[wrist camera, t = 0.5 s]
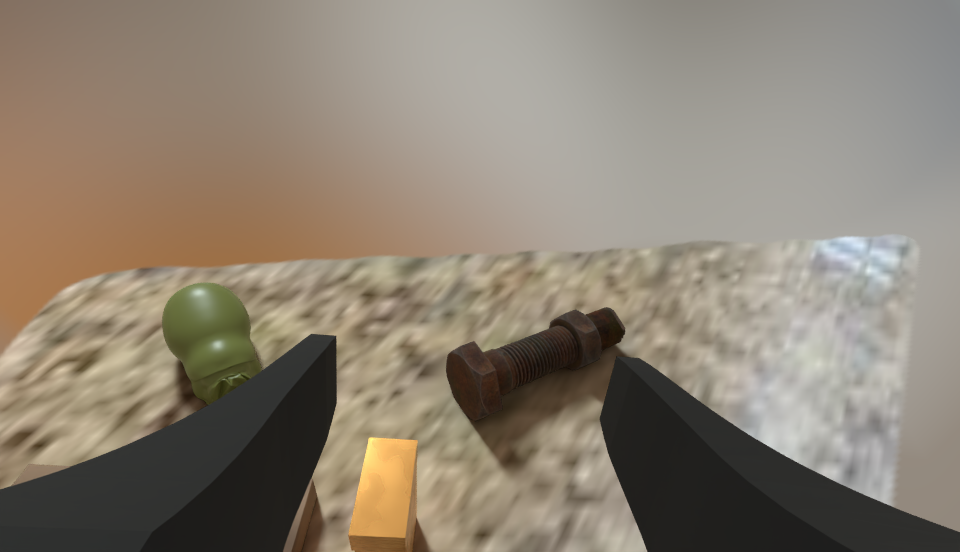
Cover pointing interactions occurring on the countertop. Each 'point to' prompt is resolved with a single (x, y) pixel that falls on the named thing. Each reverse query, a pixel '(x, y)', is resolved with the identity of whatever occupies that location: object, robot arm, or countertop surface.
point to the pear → (210, 339)
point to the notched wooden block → (386, 498)
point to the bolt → (528, 359)
